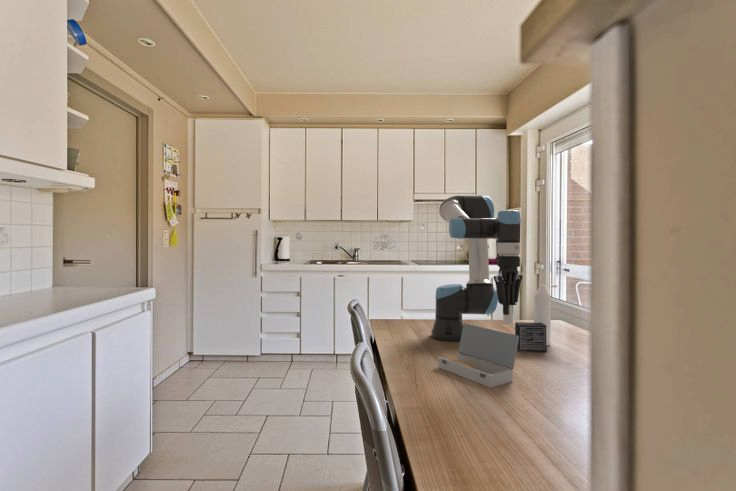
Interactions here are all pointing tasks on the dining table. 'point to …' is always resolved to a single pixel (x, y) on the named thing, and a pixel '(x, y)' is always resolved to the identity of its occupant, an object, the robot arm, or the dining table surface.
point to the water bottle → (543, 309)
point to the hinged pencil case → (477, 370)
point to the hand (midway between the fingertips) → (508, 323)
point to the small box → (531, 336)
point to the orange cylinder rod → (461, 363)
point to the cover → (489, 345)
